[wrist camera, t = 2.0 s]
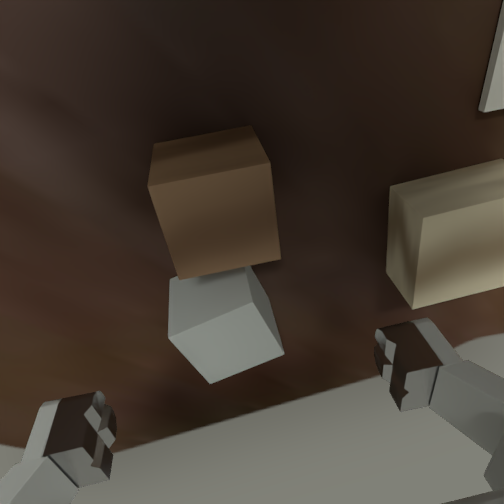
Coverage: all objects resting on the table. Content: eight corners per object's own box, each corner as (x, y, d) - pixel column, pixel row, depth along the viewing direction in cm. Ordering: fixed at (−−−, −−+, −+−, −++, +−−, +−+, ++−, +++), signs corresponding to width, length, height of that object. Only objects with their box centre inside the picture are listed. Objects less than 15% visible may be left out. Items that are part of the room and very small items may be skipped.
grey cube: (169, 278, 24) (168, 338, 20) (240, 247, 23) (252, 301, 19) (205, 324, 27) (210, 384, 23) (268, 297, 26) (284, 354, 22)
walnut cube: (153, 143, 19) (147, 186, 15) (250, 124, 19) (270, 162, 15) (179, 225, 22) (179, 280, 18) (262, 208, 22) (281, 259, 18)
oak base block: (388, 184, 22) (423, 218, 19) (498, 157, 23) (551, 185, 19) (384, 270, 27) (412, 309, 24) (477, 246, 27) (518, 282, 24)
